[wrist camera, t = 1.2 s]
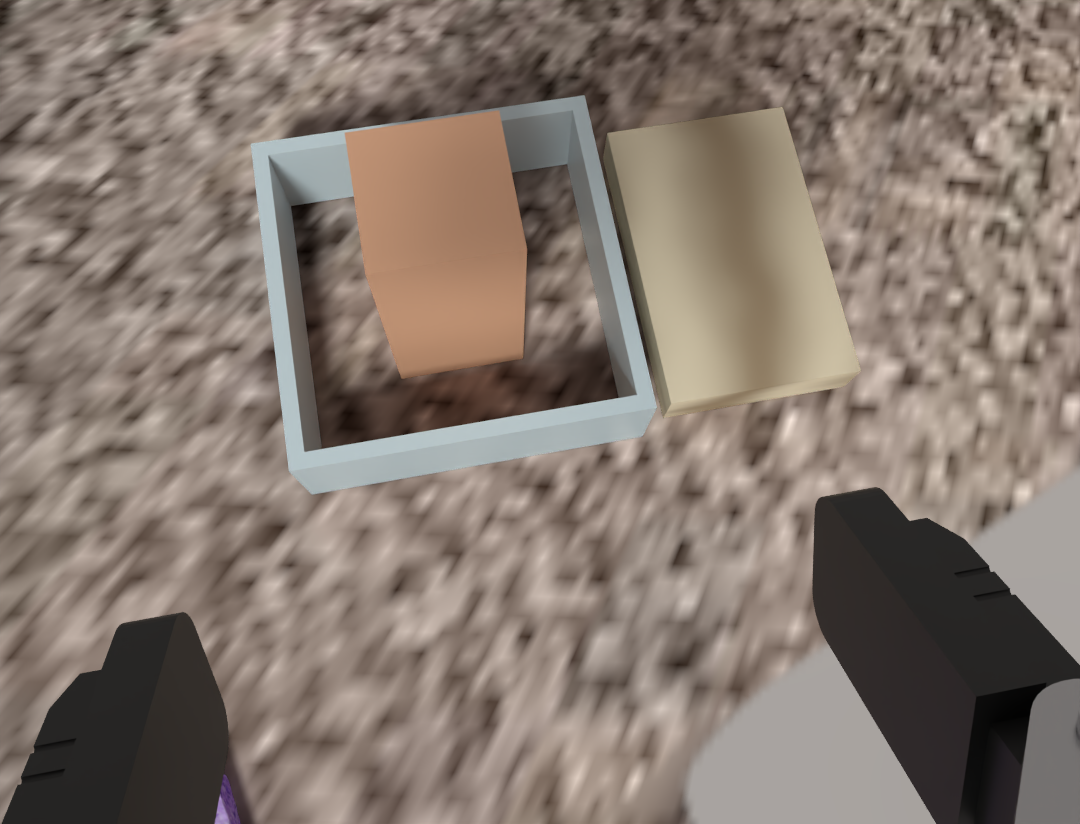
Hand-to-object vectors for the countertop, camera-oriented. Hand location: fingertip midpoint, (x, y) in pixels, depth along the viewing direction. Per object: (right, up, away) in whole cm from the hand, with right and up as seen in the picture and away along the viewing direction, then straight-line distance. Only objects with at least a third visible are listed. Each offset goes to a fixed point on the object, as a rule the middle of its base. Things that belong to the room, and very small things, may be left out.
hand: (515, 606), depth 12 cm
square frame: (-3, +7, +27) cm, 28 cm away
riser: (+8, +9, +28) cm, 30 cm away
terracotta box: (-3, +7, +27) cm, 28 cm away
